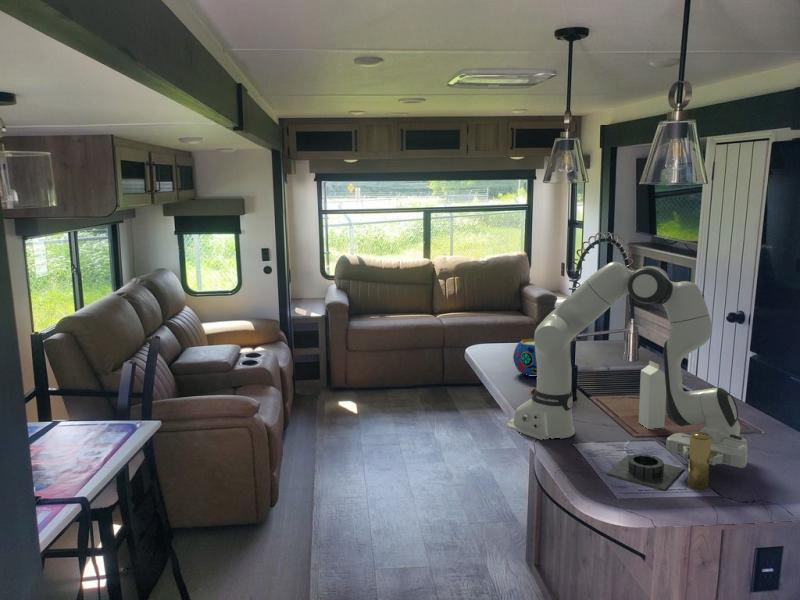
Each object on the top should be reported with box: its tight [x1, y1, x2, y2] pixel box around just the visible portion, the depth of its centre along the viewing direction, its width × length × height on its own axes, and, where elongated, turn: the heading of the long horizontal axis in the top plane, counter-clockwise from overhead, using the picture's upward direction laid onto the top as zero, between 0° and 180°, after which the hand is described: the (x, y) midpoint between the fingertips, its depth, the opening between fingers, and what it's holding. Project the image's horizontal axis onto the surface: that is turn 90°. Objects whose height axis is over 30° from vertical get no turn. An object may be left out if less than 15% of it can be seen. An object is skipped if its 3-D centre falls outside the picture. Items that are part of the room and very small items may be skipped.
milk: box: [638, 360, 666, 430], centre depth 214 cm, size 6×6×22 cm
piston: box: [687, 431, 711, 491], centre depth 171 cm, size 5×5×15 cm
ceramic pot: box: [512, 338, 537, 375], centre depth 276 cm, size 18×18×15 cm
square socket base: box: [606, 453, 685, 492], centre depth 181 cm, size 16×16×4 cm
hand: (698, 459), depth 170 cm, fingers closed on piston, 5 cm apart
